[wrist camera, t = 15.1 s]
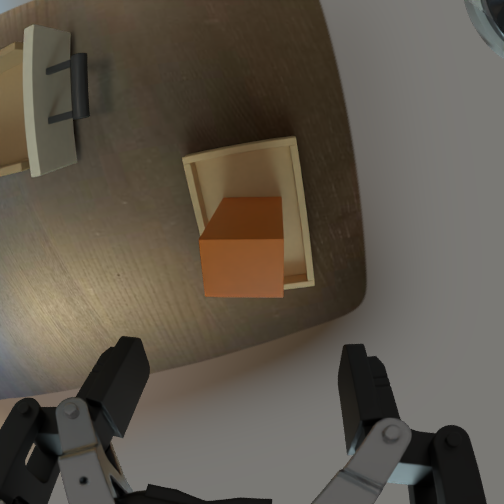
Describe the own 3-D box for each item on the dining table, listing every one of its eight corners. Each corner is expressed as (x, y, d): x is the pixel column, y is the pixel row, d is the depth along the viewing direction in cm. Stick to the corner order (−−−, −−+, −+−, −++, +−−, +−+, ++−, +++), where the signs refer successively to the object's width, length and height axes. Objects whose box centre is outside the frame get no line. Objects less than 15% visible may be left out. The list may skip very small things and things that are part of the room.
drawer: (107, 19, 20) (73, 6, 15) (113, 156, 26) (79, 169, 21) (-30, 83, 22) (-63, 87, 17) (-22, 184, 28) (-53, 198, 22)
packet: (281, 196, 27) (284, 238, 18) (281, 240, 29) (283, 297, 20) (223, 197, 27) (198, 239, 19) (226, 240, 29) (205, 297, 20)
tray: (188, 154, 26) (181, 157, 25) (294, 135, 25) (295, 137, 23) (219, 286, 32) (216, 297, 30) (312, 275, 30) (314, 285, 29)
